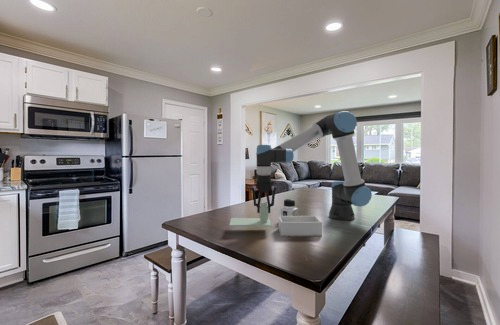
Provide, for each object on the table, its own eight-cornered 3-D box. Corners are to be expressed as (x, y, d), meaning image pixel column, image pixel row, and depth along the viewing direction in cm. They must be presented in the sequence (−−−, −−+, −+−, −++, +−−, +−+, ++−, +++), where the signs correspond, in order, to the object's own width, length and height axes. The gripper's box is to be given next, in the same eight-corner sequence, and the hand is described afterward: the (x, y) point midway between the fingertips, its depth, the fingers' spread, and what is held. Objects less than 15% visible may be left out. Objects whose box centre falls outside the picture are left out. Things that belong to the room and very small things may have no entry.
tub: (315, 228, 131) (315, 215, 131) (322, 236, 119) (322, 222, 119) (278, 228, 132) (278, 216, 131) (281, 236, 120) (281, 222, 119)
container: (292, 223, 141) (292, 201, 140) (280, 221, 146) (280, 199, 145) (298, 220, 147) (298, 199, 147) (286, 218, 152) (286, 198, 151)
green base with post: (269, 219, 134) (269, 200, 133) (271, 226, 121) (271, 205, 120) (231, 219, 134) (231, 200, 134) (229, 226, 121) (229, 205, 121)
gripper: (278, 173, 130) (278, 217, 131) (248, 173, 130) (248, 217, 131) (280, 175, 123) (279, 221, 124) (248, 175, 123) (248, 221, 124)
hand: (263, 219), depth 127 cm, fingers closed on green base with post, 3 cm apart
